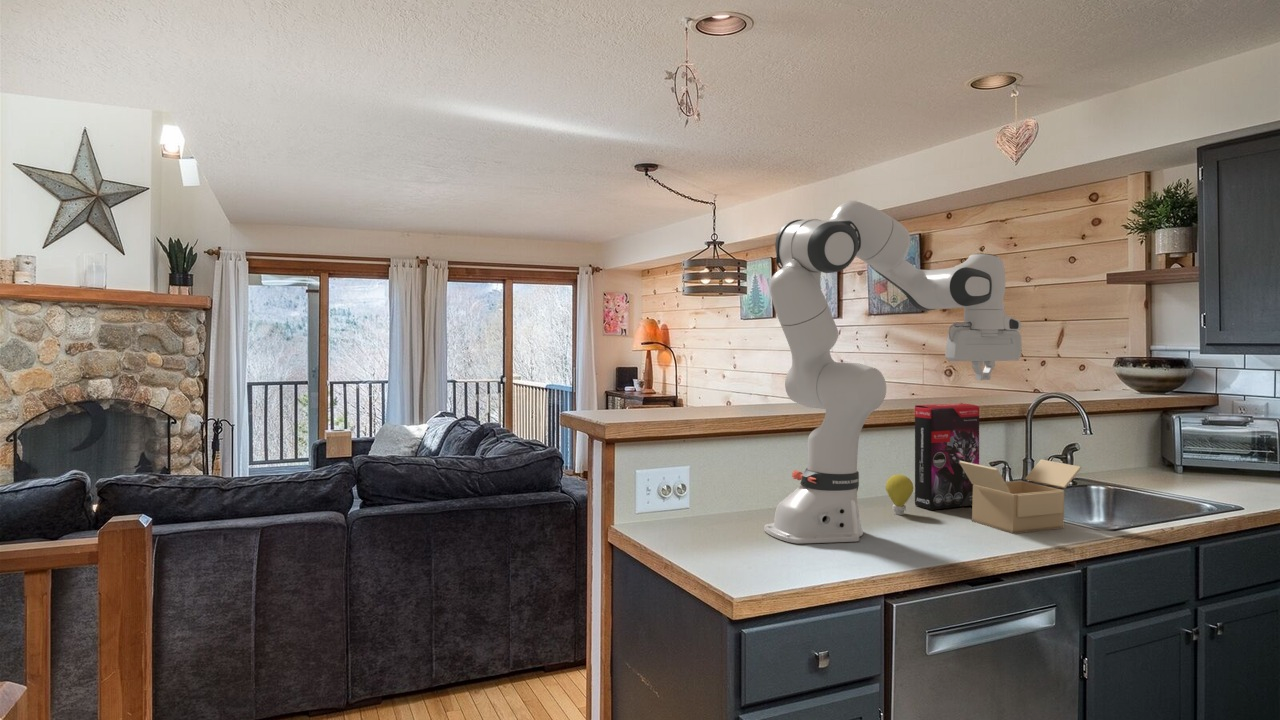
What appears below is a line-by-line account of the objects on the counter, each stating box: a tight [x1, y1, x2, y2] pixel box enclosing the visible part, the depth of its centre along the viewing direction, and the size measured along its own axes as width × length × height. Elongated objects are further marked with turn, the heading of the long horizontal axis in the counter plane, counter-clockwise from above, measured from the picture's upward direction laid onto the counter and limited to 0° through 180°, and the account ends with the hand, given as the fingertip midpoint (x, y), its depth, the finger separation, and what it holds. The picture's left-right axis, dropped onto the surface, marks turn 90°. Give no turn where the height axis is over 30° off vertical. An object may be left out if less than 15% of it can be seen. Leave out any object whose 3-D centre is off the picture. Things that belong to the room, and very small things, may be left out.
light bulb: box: [885, 473, 914, 516], centre depth 185 cm, size 7×7×10 cm
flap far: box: [1024, 459, 1082, 489], centre depth 179 cm, size 1×11×7 cm
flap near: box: [959, 461, 1011, 493], centre depth 172 cm, size 1×11×7 cm
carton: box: [971, 480, 1065, 535], centre depth 176 cm, size 16×13×9 cm
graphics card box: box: [914, 402, 980, 511], centre depth 194 cm, size 17×7×27 cm, turn 112°
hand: (982, 380), depth 175 cm, fingers closed
